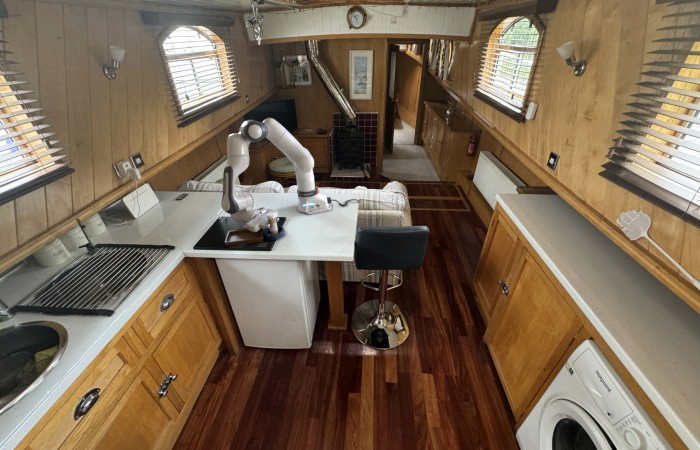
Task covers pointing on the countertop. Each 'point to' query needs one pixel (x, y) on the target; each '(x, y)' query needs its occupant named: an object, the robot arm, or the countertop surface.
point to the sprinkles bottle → (272, 223)
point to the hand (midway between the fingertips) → (273, 222)
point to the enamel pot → (274, 237)
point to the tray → (244, 237)
